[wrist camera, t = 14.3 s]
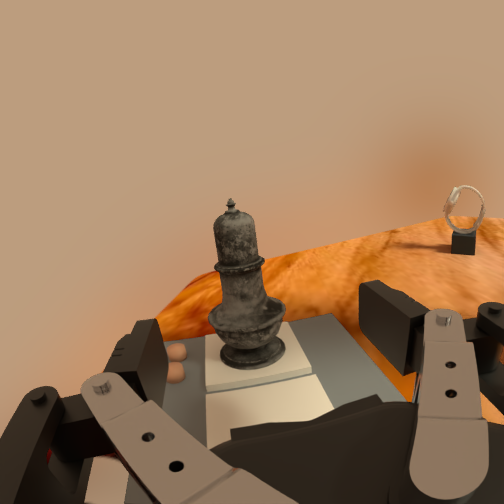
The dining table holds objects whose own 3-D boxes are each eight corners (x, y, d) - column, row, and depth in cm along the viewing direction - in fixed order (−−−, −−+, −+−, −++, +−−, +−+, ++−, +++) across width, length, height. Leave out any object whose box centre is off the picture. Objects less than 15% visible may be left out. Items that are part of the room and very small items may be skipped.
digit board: (331, 323, 30) (331, 304, 30) (432, 450, 13) (441, 426, 12) (161, 352, 28) (156, 333, 28) (132, 513, 11) (116, 493, 11)
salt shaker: (207, 345, 26) (180, 204, 23) (269, 326, 28) (252, 191, 25) (230, 381, 20) (198, 208, 17) (303, 355, 23) (289, 192, 20)
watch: (444, 244, 49) (443, 184, 46) (483, 247, 44) (484, 185, 41) (440, 252, 45) (440, 186, 43) (483, 256, 40) (485, 188, 37)
